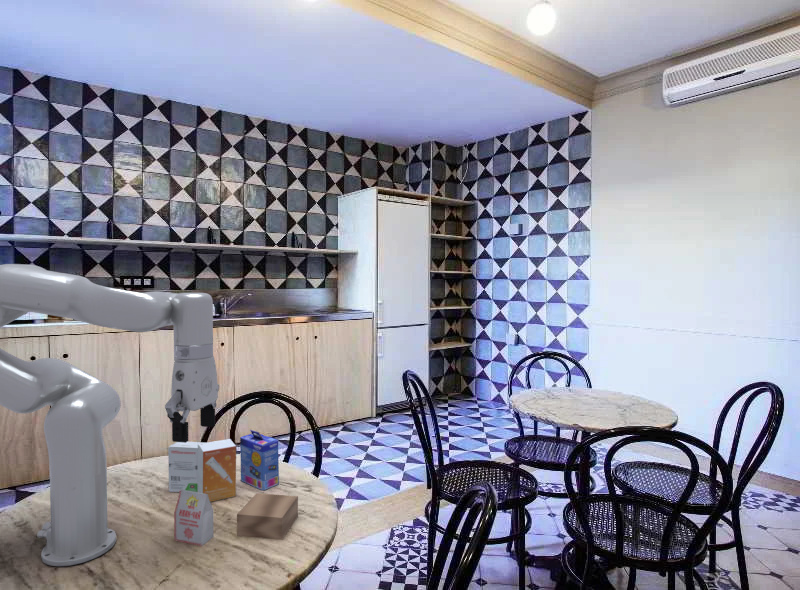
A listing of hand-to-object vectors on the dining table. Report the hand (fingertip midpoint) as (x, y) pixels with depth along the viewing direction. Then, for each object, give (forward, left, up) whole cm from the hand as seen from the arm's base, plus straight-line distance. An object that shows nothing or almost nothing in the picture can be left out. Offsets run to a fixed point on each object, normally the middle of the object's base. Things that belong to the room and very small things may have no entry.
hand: (194, 433), depth 102 cm
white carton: (0, 0, -23) cm, 23 cm away
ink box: (-15, +21, -23) cm, 34 cm away
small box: (-6, +19, -23) cm, 30 cm away
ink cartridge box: (+1, +28, -23) cm, 36 cm away
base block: (+13, +8, -23) cm, 27 cm away
